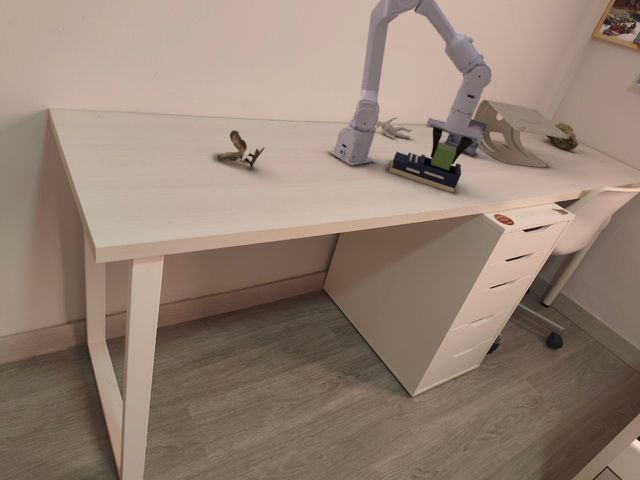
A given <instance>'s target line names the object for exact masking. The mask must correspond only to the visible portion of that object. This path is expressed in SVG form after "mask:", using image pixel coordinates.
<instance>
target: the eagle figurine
mask: <svg viewBox="0 0 640 480" xmlns="http://www.w3.org/2000/svg"><path fill="white" fill-rule="evenodd" d="M229 138H230V141H231V143H232V144H233V146H234V147H235V148H236V149H237V150H238V151H226V152H224V153H221V154H218V155H217V156H216V158H217V160H219V161H223V160H224V161H225V160H228V161H231V162H236V161H238V160H239V159H240V160H241V161H242V162H243V161H245V162H246V163H248V164H249V167H250V170H253V168H254V164H255V162H256V161H257V159H258V158H259V156H260V155H262V153H263V152H264V150H265V147H264V146H263V147H262V148H261V149H260V150H259V149H258V148H256V149H255V151H254V154H253V153H252V152H251V148H248V146H247V143H246V141H245V140H244V139H242V136H241V135H240V132H239V131H238V130H234V129H233V130H231V132H230V134H229ZM248 157H251V160H250V159H249V158H248Z"/></svg>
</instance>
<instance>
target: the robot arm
mask: <svg viewBox="0 0 640 480" xmlns="http://www.w3.org/2000/svg"><path fill="white" fill-rule="evenodd" d="M412 10H413V11H414V13H415V14H418V15H421V16H423V17H424V18H426V19H427V21H428V22H429V23H430V24H431V25H432V27H433V28H434V30H435V31H436V32H437V33H438V35H439V36H440V37H441V38H442V39H443V41H444V42H445V47H444V53H445V55H446V56H447V57H448V58H449V60H450V61H451V63H452V64H453V65H454V66H455V68H456V69H457V71H458V72H459V73H460V74H461V73H462V78H463V79H462V81H461V84H460V86H459V88H458V90H457V92H456V95H455V96H454V97H455V98H454V100H453V102H452V104H451V107H450V110H449V113H448V115H447V117H446V120H445V121H443V120H438V119H434V118H431V117H428V119H427V121H426V124H425V127H426V128H430V129H432V148H431V149H432V150H431V154H430V158H431V159H432V158H433V156H434V154H435V151H436V148H437V145H438V143H439V142H441V138H442V136H443V135H442V134H443V132H444V133H447V134H449V133H450V134H453V135H456V136H459V137H461V139H460V141H459V144H458V147H457V149H456V155H455V157H454V159H453V162H452V164H451V165H454V164H455V162H456V161H457V159H459V157H460V156H461V155H462V154H463V153H462V152H463V151H464V150H465V149H467V148H468V147H469V146H470V145H471V141H475V142H476V143H479V144H480V142H481V140H482V138H483V135H481V134H478V133H476V132H473V131H471V130H468V129H467V128H468V125H469V123H470V121H471V119H473V117H474V115H475V113H476V110H477V108H478V105H479V102H480V100H481V98H482V93H483V92H484V90H485V88H487V87H488V86H489V84H491V82H492V69H491V68H490V66H489V65H488V64H487V63H486V61H484V59H485V56H484V55H483V54H480V52H479V51H478V50H477V49H476V47H475V46H474V44H473V42H474V40H473V38H472V37H471V36H467V34H466V33H457V31H456V30H455V29H454V27H453V25H452V24H451V23H450V20H448V18H447V17H446V15H445V14H444V12H443V11H442V9H441V7H440V6H439V4H438V3H437V2H436V0H379V1H378V2H377V4H376V5H375V6H374V7H373V9H372V10H371V12H370V15H369V16H370V17H369V23H368V32H367V33H368V34H367V41H366V48H365V56H364V57H365V58H364V64H363V71H362V72H363V73H362V81H361V87H360V95H359V101H358V102H357V104H356V106H355V111H354V113H353V117H352V119H350V121H349V123H348V125H347V126H346V127H343V128H342V129H341V130H340V131H339V132H338V135H337V139H336V143H335V146H334V148H333V149H334V150H332V151H331V152H330V154H331V155H332V156H335V158H338V159H339V160H341V161H343V162H344V163H346V164H348V165H349V166H356V165H362V164H363V165H364V164H367V163H373V161H374V160H373V159H372V158H370V157H369V153H370V150H371V147H372V144H373V140H374V137H375V134H376V131H377V122H379V114H380V106H379V103H378V97H379V91H380V82H381V76H382V69H383V64H384V56H385V51H386V50H385V49H386V43H387V36H388V28H389V24H390V23H391V22H393V21H394V20H395V19H396V18H397V17H399V16H400V15H402V14H403V13H407V12H409V11H412Z"/></svg>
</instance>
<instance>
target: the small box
mask: <svg viewBox="0 0 640 480" xmlns="http://www.w3.org/2000/svg"><path fill="white" fill-rule="evenodd" d="M473 119H474V118H471V121H470V123H469V125H468V128H467V129H468V130H471V131H473V132H476V133H478V134H481V135H483V134H484V132H485V130H486V127H487V124H484V123H481V122H479V121H476V120H473ZM460 139H461V137H459V136H456V135H453V134H450V133H448V136H447V138H446V141H445V142H444V144H446V145H449V146H453V147H456V149H457V147H458V144H459V141H460ZM478 147H479V143H476V142H475V141H471V145H470V146H469V147H468V148H467V149H465V150H464V151H463V152H462V153H461V154H464V155H467V156H470V157H472V158H474V156H475V153H476V151H477V149H478Z"/></svg>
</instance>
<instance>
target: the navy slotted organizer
mask: <svg viewBox="0 0 640 480" xmlns="http://www.w3.org/2000/svg"><path fill="white" fill-rule="evenodd" d="M431 159H432V158H431V157H428V156H426V154H423V153H421V155H418V154H415V153H413V152H408V154H406V153H403V152H399V151H396V152H395V153H394V156H393V158H392V161H391V164H390V166H389V170H388V172H389V173H393V174H395V175H399V176H402V177H403V178H407V179H410V180H413V181H416V182H419V183H421V184H425V185H429V186H430V187H434V188H437V189H439V190H443V191H446V192H449V193H452V194H453V193H454V192H455V189H456V187H457V185H458V183H459V180H460V178H461V176H462V165H461V164H460V163H458V162H456V164H455V165H453V164H451V167H450V169H449V170H446V169H443V168H440V167H437V166H434V165H431Z"/></svg>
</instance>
